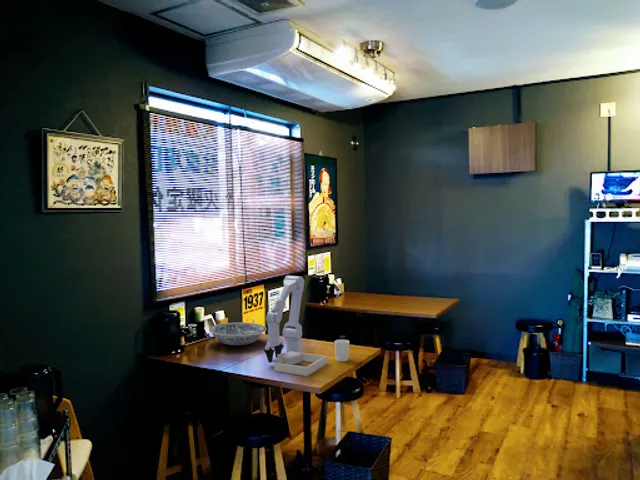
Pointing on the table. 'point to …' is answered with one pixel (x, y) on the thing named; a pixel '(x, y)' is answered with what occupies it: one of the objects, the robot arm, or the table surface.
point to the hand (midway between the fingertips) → (274, 360)
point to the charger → (288, 358)
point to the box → (301, 370)
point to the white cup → (341, 349)
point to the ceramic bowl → (237, 332)
